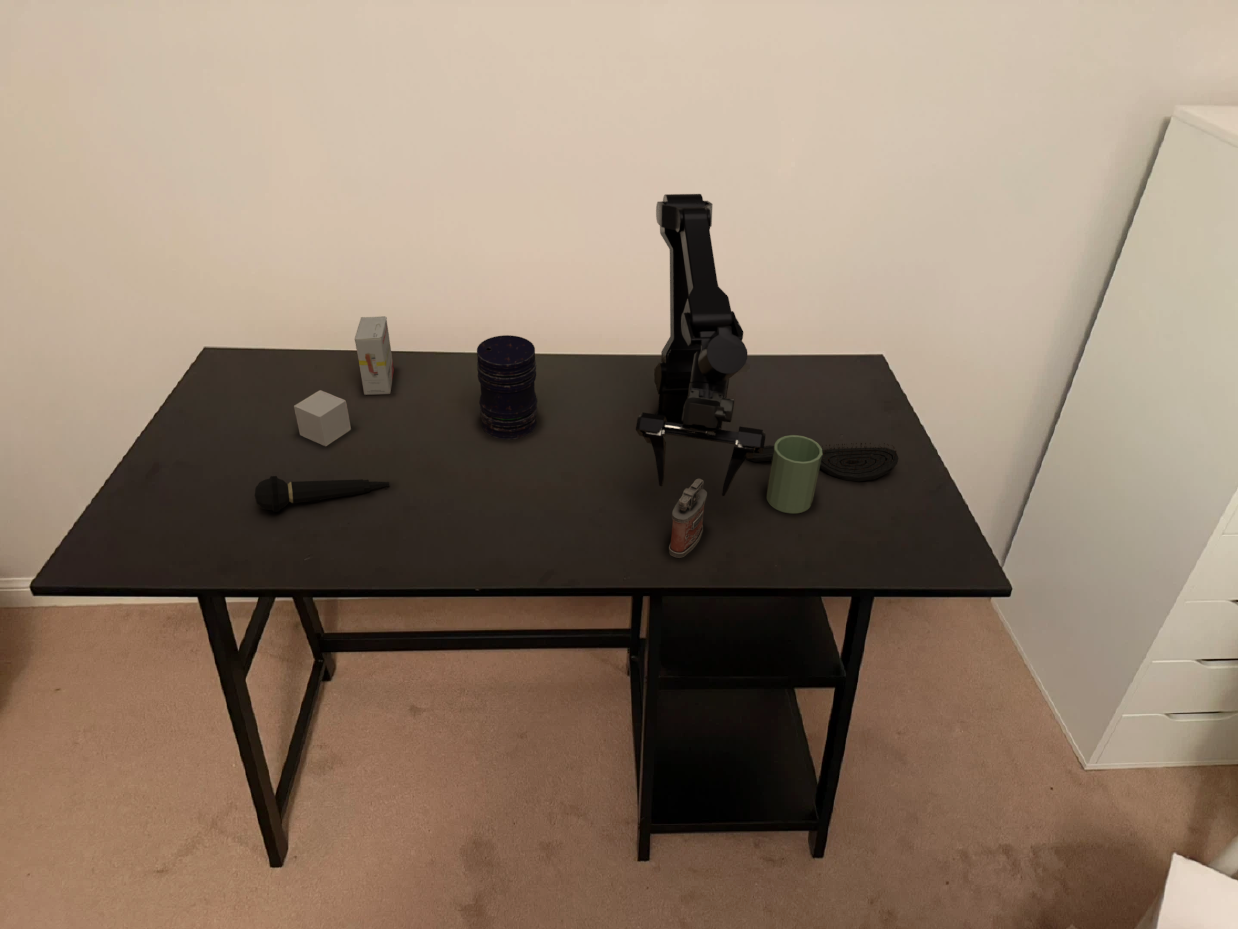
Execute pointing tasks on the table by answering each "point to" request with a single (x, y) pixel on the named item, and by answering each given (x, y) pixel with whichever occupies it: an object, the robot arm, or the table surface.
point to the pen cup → (793, 473)
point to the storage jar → (507, 386)
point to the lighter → (688, 520)
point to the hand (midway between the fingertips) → (691, 490)
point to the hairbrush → (849, 461)
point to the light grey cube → (322, 417)
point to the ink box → (374, 355)
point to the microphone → (308, 491)
